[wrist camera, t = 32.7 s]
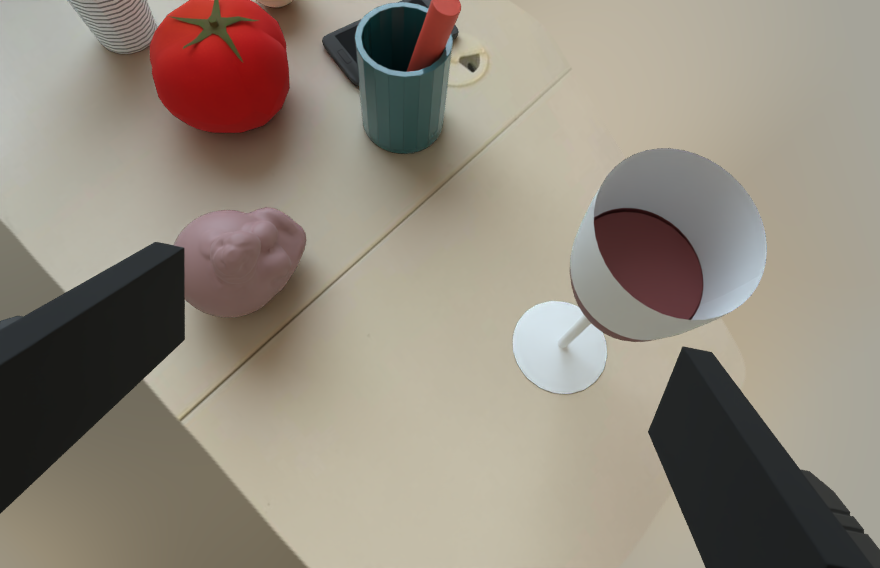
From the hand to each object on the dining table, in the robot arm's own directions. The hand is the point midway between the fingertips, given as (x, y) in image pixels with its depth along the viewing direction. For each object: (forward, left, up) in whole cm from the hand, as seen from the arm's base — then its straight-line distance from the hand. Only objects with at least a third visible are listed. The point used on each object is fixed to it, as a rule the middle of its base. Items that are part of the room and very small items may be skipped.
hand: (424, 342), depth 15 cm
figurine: (+19, -8, -34) cm, 40 cm away
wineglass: (-8, -14, -34) cm, 38 cm away
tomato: (+31, -24, -34) cm, 52 cm away
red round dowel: (+15, -30, -33) cm, 47 cm away
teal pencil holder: (+15, -30, -34) cm, 47 cm away
